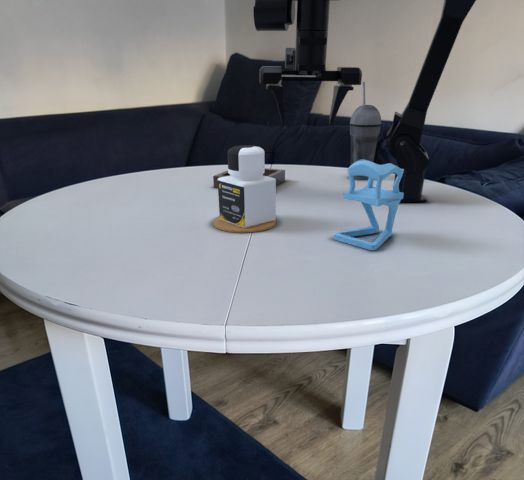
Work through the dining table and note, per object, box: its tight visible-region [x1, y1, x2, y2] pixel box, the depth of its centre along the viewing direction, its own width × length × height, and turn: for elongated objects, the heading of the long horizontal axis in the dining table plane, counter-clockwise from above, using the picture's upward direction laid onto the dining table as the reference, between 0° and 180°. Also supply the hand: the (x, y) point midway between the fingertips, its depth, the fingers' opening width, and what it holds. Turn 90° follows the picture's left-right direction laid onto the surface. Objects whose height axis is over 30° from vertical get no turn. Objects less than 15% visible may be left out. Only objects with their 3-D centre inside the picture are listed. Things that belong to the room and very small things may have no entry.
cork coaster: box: [212, 215, 277, 234], centre depth 84 cm, size 11×11×1 cm
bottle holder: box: [212, 167, 286, 189], centre depth 109 cm, size 12×12×2 cm
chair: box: [333, 159, 404, 252], centre depth 73 cm, size 8×8×12 cm
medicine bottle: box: [217, 144, 277, 228], centre depth 81 cm, size 7×7×12 cm
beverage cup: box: [348, 81, 383, 181], centre depth 110 cm, size 7×7×20 cm
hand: (306, 126), depth 95 cm, fingers open, 9 cm apart
